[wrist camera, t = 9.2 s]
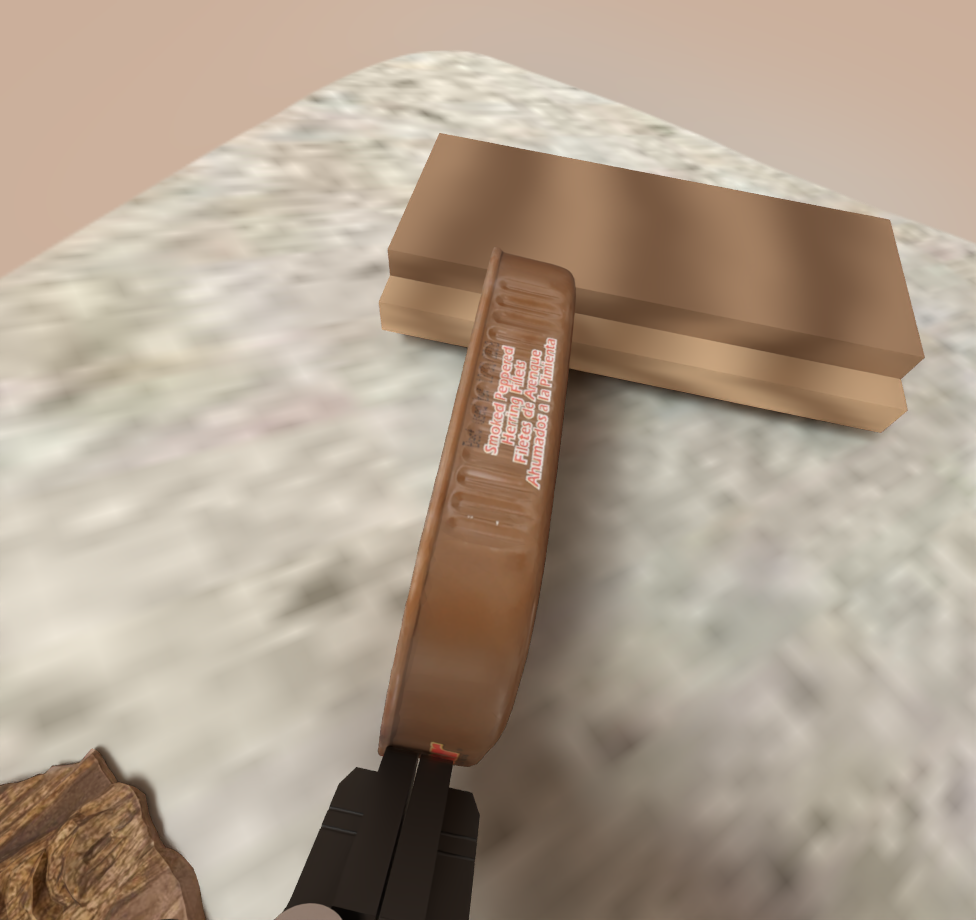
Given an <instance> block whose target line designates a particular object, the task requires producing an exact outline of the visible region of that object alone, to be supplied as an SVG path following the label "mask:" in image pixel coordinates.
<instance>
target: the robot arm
mask: <svg viewBox="0 0 976 920" xmlns="http://www.w3.org/2000/svg"><path fill="white" fill-rule="evenodd" d="M418 757H419V753H415V752H411V751H406V750H402V749H397V748H393V747H388V746H387V747H386V750H385V752H384V755H383V758H382V761H381V764H380V767H379V770H378V772H376V771H371V770H367V769H362V768H358V767H356V768H355V769H354V770H353V771H352V772H351V773H350V774H349V775H348V776H347V777H346V778H345V779H344V780H342V781H341V782H340V783H339V785H338V787H337V790H336V792H335V795H334V797H333V799H332V802H331V804H330V807H329V810H328V811H327V814H326V816H325V818H324V821H323V823H322V827H321V829H320V830H319V833H318V835H317V837H316V840H315V842H314V845H313V847H312V849H311V852H310V854H309V856H308V859H307V861H306V864H305V866H304V868H303V871H302V873H301V875H300V878H299V880H298V883H297V885H296V887H295V890H294V892H293V895H292V897H291V899H290V901H289V903H288V905H287V907H286V908H285V909H284V911H283V912H282V913H281V914H280V915H279V916H278V917H277V918H275V919H274V920H469V912H470V903H471V893H472V884H473V874H474V865H475V863H474V862H475V855H476V846H477V836H478V826H479V817H480V815H479V812H478V809H477V806H476V803H475V800H474V797H473V794H472V793H471V792H466V791H462V790H457V789H453V788H449V783H450V777H451V772H452V766H453V761H452V760H448V759H443V758H439V757H434V756H430V755H425V754H421V757H420V761H419V765H418V769H417V773H416V768H417V763H418ZM415 773H416V777H415ZM414 778H415V781H414ZM413 783H414V784H413ZM161 920H178V919H161Z"/></svg>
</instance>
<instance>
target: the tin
mask: <svg viewBox="0 0 976 920" xmlns="http://www.w3.org/2000/svg"><path fill="white" fill-rule="evenodd" d="M575 304H576V286H575V279H574V277H573V275H572V273H571V272H570V271H569V270H567V269H565V268H563V267H560V266H557V265H554V264H551V263H546V262H542V261H538V260H533V259H529V258H525V257H521V256H517V255H513V254H509V253H505V252H503V251H502V250H501V249H500V248H498V247H494V248H493V251H492V254H491V259H490V261H489V265H488V268H487V273H486V277H485V281H484V284H483V288H482V293H481V297H480V301H479V305H478V309H477V313H476V317H475V321H474V326H473V329H472V333H471V337H470V341H469V346H468V349H467V354H466V358H465V362H464V365H463V371H462V375H461V379H460V383H459V387H458V390H457V395H456V399H455V403H454V407H453V411H452V416H451V420H450V424H449V428H448V432H447V435H446V439H445V443H444V448H443V452H442V456H441V460H440V465H439V469H438V473H437V476H436V480H435V484H434V488H433V492H432V496H431V500H430V504H429V508H428V512H427V516H426V520H425V524H424V528H423V532H422V536H421V540H420V544H419V549H418V553H417V558H416V563H415V567H414V571H413V576H412V581H411V586H410V590H409V595H408V599H407V602H406V605H405V611H404V615H403V619H402V627H401V631H400V636H399V640H398V644H397V648H396V654H395V658H394V663H393V667H392V670H391V676H390V682H389V687H388V691H387V696H386V702H385V709H384V714H383V718H382V724H381V730H380V738H379V748H378V753H379V755H380V756H383V755H384V752H385V750H386V747H387V746H388V747H393V748H397V749H402V750H406V751H411V752H415V753H419V757H418V758H420V757H421V754H425V755H430V756H434V757H439V758H443V759H448V760H452V761H453V765H457V766H464V767H470V766H473V765H475V764H477V763H478V762H479V761H480V760H481V759H482V758H483V757H484V755H485V754H486V753H487V752H488V751H489V750H490V749H491V748H492V747H493V746H494V745H495V744H496V742H497V741H498V740H499V738H500V736H501V734H502V733H503V731H504V729H505V727H506V725H507V722H508V719H509V716H510V714H511V711H512V708H513V705H514V702H515V698H516V695H517V691H518V688H519V684H520V680H521V677H522V673H523V670H524V666H525V662H526V658H527V655H528V650H529V645H530V641H531V636H532V632H533V627H534V622H535V617H536V612H537V606H538V600H539V595H540V589H541V584H542V578H543V572H544V565H545V559H546V552H547V545H548V538H549V530H550V521H551V514H552V507H553V498H554V489H555V483H556V476H557V469H558V458H559V451H560V444H561V435H562V426H563V418H564V409H565V400H566V392H567V384H568V374H569V363H570V355H571V346H572V336H573V325H574V316H575Z"/></svg>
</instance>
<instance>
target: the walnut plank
mask: <svg viewBox="0 0 976 920" xmlns="http://www.w3.org/2000/svg"><path fill="white" fill-rule="evenodd" d="M494 247H498V248H500V249H501V250H502V251H503V252H505V253H509V254H513V255H517V256H521V257H525V258H529V259H533V260H538V261H542V262H546V263H551V264H554V265H557V266H560V267H563V268H565V269H567V270H569V271H570V272H571V273H572V275H573V277H574V279H575V286H576V304H575V316H574V325H573V336H572V346H571V355H570V363H569V368H570V369H575V370H580V371H585V372H589V373H594V374H599V375H604V376H609V377H613V378H618V379H623V380H628V381H633V382H638V383H642V384H647V385H652V386H657V387H662V388H667V389H671V390H676V391H681V392H686V393H691V394H696V395H700V396H705V397H710V398H715V399H720V400H725V401H729V402H734V403H739V404H744V405H749V406H754V407H758V408H763V409H768V410H773V411H778V412H782V413H787V414H792V415H797V416H802V417H807V418H811V419H816V420H821V421H826V422H831V423H836V424H840V425H845V426H850V427H855V428H860V429H865V430H869V431H874V432H879V433H881V432H882V431H884V430H885V429H886V428H887V427H888V426H890V425H891V424H892V423H893V422H894V421H896V420H897V419H898V418H899V417H900V416H902V415H903V414H904V413H905V412H906V411H908V409H907V405H906V400H905V396H904V391H903V387H902V382H901V379H902V378H903V377H904V376H905V375H906V374H907V373H908V372H909V371H910V370H911V369H913V368H914V367H915V366H916V365H917V364H918V363H919V362H920V361H921V360H922V359H924V358H925V356H924V353H923V349H922V345H921V341H920V337H919V333H918V329H917V325H916V321H915V317H914V313H913V309H912V305H911V301H910V297H909V293H908V289H907V285H906V281H905V277H904V273H903V270H902V266H901V262H900V258H899V254H898V250H897V246H896V242H895V238H894V234H893V230H892V226H891V222H890V220H889V219H883V218H878V217H873V216H868V215H863V214H857V213H852V212H847V211H842V210H837V209H831V208H826V207H821V206H816V205H811V204H806V203H800V202H795V201H790V200H785V199H780V198H774V197H769V196H764V195H759V194H754V193H748V192H743V191H738V190H733V189H728V188H722V187H717V186H712V185H707V184H702V183H696V182H691V181H686V180H681V179H676V178H670V177H665V176H660V175H655V174H650V173H645V172H639V171H634V170H629V169H624V168H619V167H613V166H608V165H603V164H598V163H593V162H587V161H582V160H577V159H572V158H567V157H561V156H556V155H551V154H546V153H541V152H535V151H530V150H525V149H520V148H515V147H509V146H504V145H499V144H494V143H489V142H484V141H478V140H473V139H468V138H463V137H458V136H452V135H447V134H442V133H439V135H438V138H437V140H436V142H435V144H434V147H433V149H432V151H431V153H430V156H429V158H428V160H427V162H426V165H425V167H424V169H423V171H422V174H421V176H420V178H419V180H418V183H417V185H416V187H415V189H414V192H413V194H412V196H411V198H410V200H409V203H408V205H407V207H406V209H405V212H404V214H403V216H402V218H401V221H400V223H399V225H398V227H397V230H396V232H395V234H394V236H393V239H392V241H391V243H390V245H389V248H388V258H389V269H390V277H389V279H388V282H387V284H386V286H385V289H384V291H383V293H382V296H381V298H380V300H379V308H380V316H381V325H382V330H387V331H391V332H396V333H401V334H406V335H411V336H416V337H420V338H425V339H430V340H435V341H440V342H445V343H449V344H454V345H459V346H464V347H468V346H469V341H470V337H471V333H472V329H473V326H474V321H475V317H476V313H477V309H478V305H479V301H480V297H481V293H482V288H483V284H484V281H485V277H486V273H487V268H488V265H489V261H490V259H491V254H492V251H493V248H494Z"/></svg>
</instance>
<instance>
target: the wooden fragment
mask: <svg viewBox="0 0 976 920" xmlns="http://www.w3.org/2000/svg"><path fill="white" fill-rule="evenodd" d="M161 919H178V920H206V919H205V915H204V911H203V905H202V900H201V894H200V887H199V884H198V880H197V877H196V874H195V872H194V869H193V867H192V866H191V865H190V864H189V863H188V862H187V860H186V859H185V858H184V857H183V856H182V855H181V854H179V853H178V852H177V851H175V850H173V849H171V848H165V846H164V844H163V843H162V841H161V839H160V837H159V835H158V833H157V831H156V829H155V827H154V825H153V822H152V820H151V817H150V815H149V810H148V805H147V801H146V794H144V793H143V792H141V791H140V790H139V789H137V788H136V787H134V786H131V785H128V784H124V783H121V782H117V780H116V778H115V776H114V775H113V773H112V772H111V771H110V769H109V768H108V767H107V764H106V762H105V760H104V759H103V758H102V755H101V754H100V753H99V752H98V751H97V750H95V749H91V750H90V751H89V752H88V753H87V754H86V756H85V757H84V758H83V759H82V760H81V762H78V763H73V764H68V765H55V766H52V767H51V768H50V769H49V770H48V771H47V772H46V773H45V774H37V775H35V776H33V777H31V778H29V779H27V780H24V781H21V782H18V783H7V784H3V785H0V920H161Z"/></svg>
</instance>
